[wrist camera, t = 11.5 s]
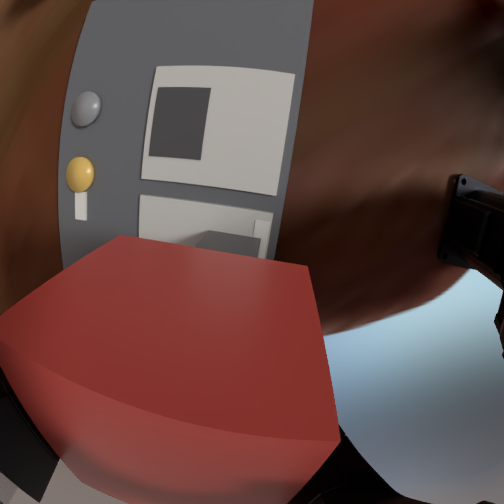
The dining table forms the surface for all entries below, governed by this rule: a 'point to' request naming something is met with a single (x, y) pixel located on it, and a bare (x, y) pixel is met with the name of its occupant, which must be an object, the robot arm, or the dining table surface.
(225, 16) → the panel
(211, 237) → the gray box
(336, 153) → the dining table surface
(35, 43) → the dining table surface
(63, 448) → the cap
